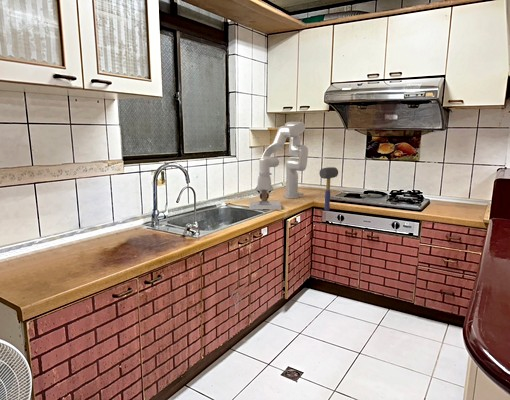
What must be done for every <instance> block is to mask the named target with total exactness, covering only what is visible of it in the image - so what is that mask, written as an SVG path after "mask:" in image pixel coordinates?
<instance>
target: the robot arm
mask: <svg viewBox="0 0 510 400" xmlns="http://www.w3.org/2000/svg"><path fill="white" fill-rule="evenodd" d="M305 129H306V125H305V123H304V122H303V121H287V122H285V123H284V125H281V126H279V127H278V129H277V132H276V134H275V137H274V139H273V142H272V143H271V144H269V145H268V147H266V148H265V150H264V152H263V154H262V156H261V157H260V158H259V159H258V160H259V169H258V171H259V172H258V173H259V174H258V177H257V185H256V187H255V189H254V190H255V191H256V192H258V193H259V198H260V200H261V199H262V190H267V200H269V198H270V194H271V193H272V192H273V191H274V190H275V189H274V187H273V186H272V179H271V178H272V177H271V175H272V172H270V171H271V170H270V168H277V167H278V166H279V165H280V160H279V158H278V157H275V156H272V154H274V153H275V152H277V151H280V150H281V149H283V148H284V146H285V144H286V141H287V138H289V145H288V154H289V156H290V157H289V158H287V159H286V160H285V163H284V165H285V171H286V172H285V175H286V178H285V180H286V182H285V194H283V198H286V199H299V198H300V196H304V193H303V192H299V173H298V172H304V171H305V170H306V168H307V167H308V157H309V148H308V147H307V145H306V144H305V145H304V144H301V136H300V135H301V134H303V133H304V132H305Z"/></svg>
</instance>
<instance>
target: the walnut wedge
mask: <svg viewBox="0 0 510 400" xmlns="http://www.w3.org/2000/svg"><path fill="white" fill-rule="evenodd" d="M261 193H262V199H261V198H260V201H268V199H267V190H262V192H261Z"/></svg>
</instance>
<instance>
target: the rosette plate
mask: <svg viewBox="0 0 510 400" xmlns="http://www.w3.org/2000/svg"><path fill="white" fill-rule="evenodd" d="M248 204H249V205H248V206H249V207H248V208H249V210H263V209H278V211H279V210H280V211H281V210H282V203H281V201H278V200H276V201H275V200H267V201H261V200H249V201H248Z"/></svg>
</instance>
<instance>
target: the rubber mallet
mask: <svg viewBox="0 0 510 400" xmlns="http://www.w3.org/2000/svg"><path fill="white" fill-rule="evenodd" d="M318 174H319V177H320V178H321V179H323V180H325V179H326V184H325V185H326V187H325V191H324V192H325V193H324V206H323V210H324V211H325V212H330V209H331V207H330V206H331V205H330V204H331V179H333V178H337V177H338V175H339V169H338V168H337V167H333V166H330V167H329V166H328V167H323V168H321V169H320V170H319V173H318Z"/></svg>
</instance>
